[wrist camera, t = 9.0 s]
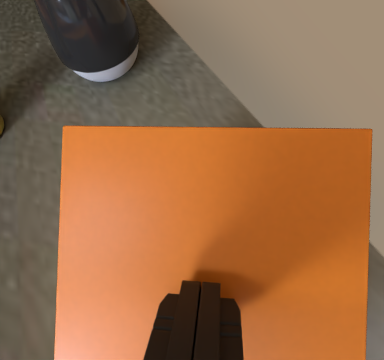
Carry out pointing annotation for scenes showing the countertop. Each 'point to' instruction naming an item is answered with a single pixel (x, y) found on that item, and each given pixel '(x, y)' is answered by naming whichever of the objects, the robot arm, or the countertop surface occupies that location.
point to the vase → (1, 125)
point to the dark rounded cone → (91, 35)
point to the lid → (215, 236)
